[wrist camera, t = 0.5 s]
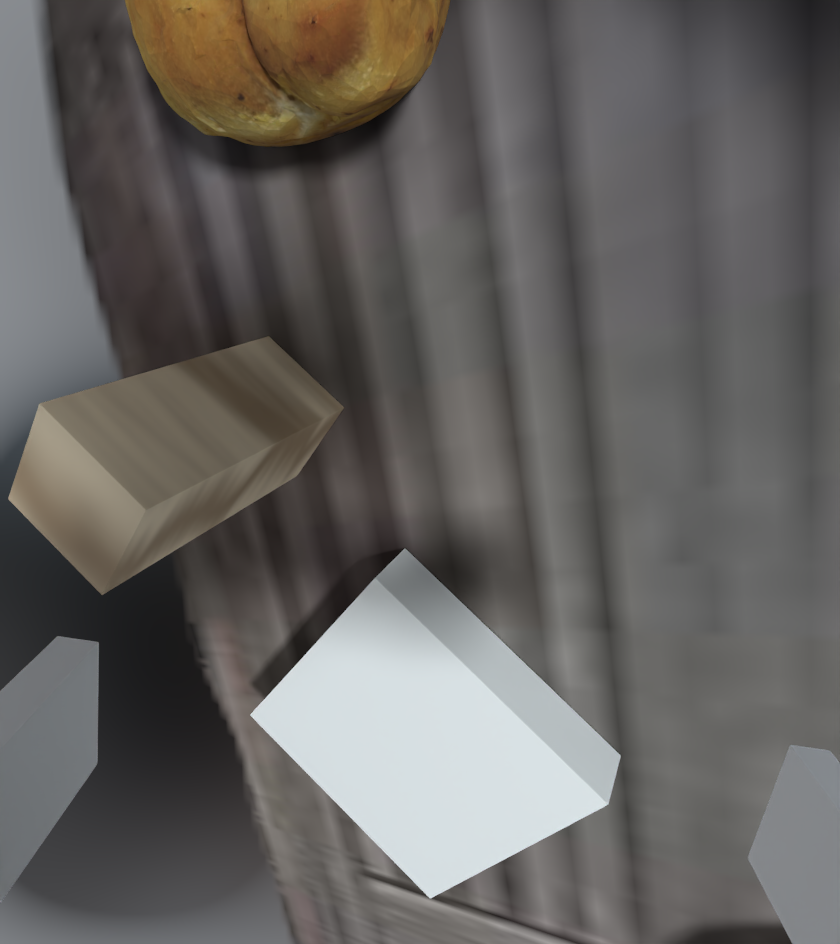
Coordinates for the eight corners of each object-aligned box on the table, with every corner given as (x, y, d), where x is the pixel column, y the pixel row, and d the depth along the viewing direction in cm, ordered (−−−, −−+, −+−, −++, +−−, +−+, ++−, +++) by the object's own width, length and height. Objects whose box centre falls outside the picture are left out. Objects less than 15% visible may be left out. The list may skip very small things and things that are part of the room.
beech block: (268, 336, 32) (39, 403, 22) (344, 407, 31) (146, 510, 21) (228, 409, 34) (8, 498, 24) (297, 475, 34) (102, 595, 24)
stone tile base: (404, 548, 33) (375, 577, 30) (620, 755, 31) (608, 804, 29) (282, 682, 40) (250, 715, 38) (451, 853, 39) (430, 898, 37)
